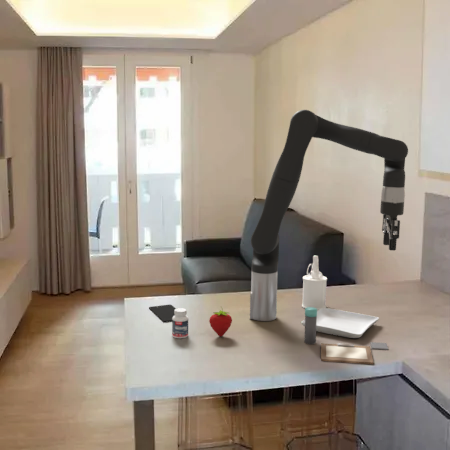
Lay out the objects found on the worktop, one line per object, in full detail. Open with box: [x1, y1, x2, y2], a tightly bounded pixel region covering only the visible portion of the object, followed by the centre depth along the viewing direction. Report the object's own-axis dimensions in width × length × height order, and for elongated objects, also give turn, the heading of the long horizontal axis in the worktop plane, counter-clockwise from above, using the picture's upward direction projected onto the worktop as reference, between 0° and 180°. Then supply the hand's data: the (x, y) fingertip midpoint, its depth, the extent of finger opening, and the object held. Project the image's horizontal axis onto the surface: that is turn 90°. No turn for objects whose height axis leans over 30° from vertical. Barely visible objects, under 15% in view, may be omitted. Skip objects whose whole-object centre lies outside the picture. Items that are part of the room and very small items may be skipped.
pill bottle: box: [171, 307, 189, 339], centre depth 195 cm, size 5×5×9 cm
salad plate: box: [300, 307, 380, 339], centre depth 205 cm, size 21×21×3 cm
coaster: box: [370, 341, 389, 351], centre depth 188 cm, size 5×5×1 cm
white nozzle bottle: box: [301, 255, 328, 311], centre depth 228 cm, size 10×9×20 cm
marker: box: [303, 307, 318, 345], centre depth 191 cm, size 4×4×11 cm
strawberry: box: [208, 306, 233, 337], centre depth 195 cm, size 6×8×10 cm
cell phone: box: [148, 304, 177, 323], centre depth 219 cm, size 9×18×1 cm, turn 24°
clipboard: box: [320, 342, 374, 365], centre depth 182 cm, size 15×13×1 cm
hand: (389, 247), depth 203 cm, fingers open, 8 cm apart
